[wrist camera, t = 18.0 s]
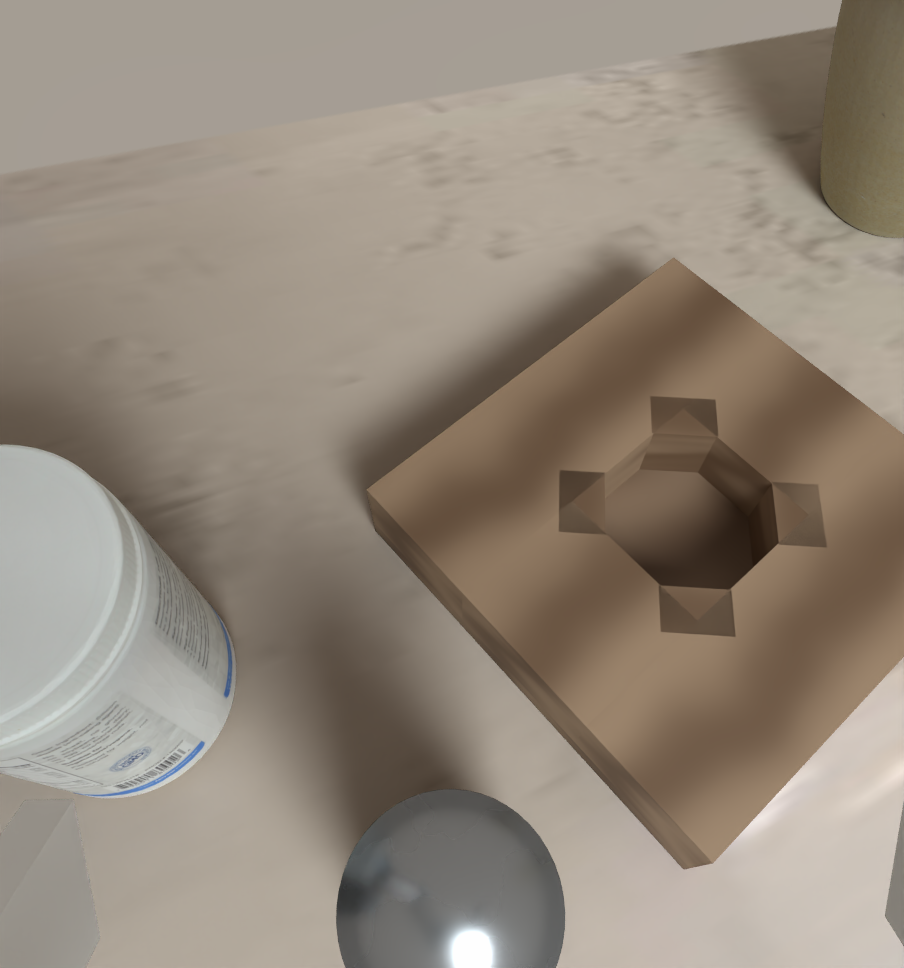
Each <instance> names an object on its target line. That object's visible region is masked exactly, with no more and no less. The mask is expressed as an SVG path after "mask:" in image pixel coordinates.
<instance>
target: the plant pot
mask: <svg viewBox="0 0 904 968" xmlns="http://www.w3.org/2000/svg"><path fill="white" fill-rule="evenodd" d="M821 189H822V193H823V196H824V198H825V200H826V202H827V204H828V205H829V206H830V208H831V209H832V210H833V211H834V212H835V213H836V214H837V215H838V216H839V217H840V218H841V219H843V220H844V221H845V222H847V223H848V224H850V225H851V226H853V227H855V228H857V229H859V230H862V231H864V232H867V233H870V234H873V235H877V236H883V237H894V238H902V237H904V0H842V4H841V9H840V13H839V17H838V23H837V28H836V33H835V39H834V45H833V50H832V56H831V63H830V69H829V76H828V83H827V90H826V98H825V107H824V118H823V129H822V146H821Z"/></svg>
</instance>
